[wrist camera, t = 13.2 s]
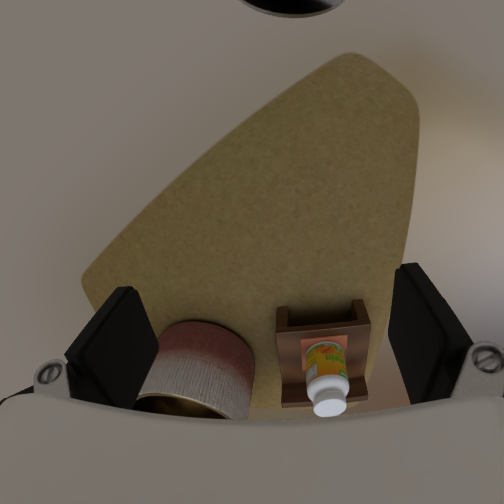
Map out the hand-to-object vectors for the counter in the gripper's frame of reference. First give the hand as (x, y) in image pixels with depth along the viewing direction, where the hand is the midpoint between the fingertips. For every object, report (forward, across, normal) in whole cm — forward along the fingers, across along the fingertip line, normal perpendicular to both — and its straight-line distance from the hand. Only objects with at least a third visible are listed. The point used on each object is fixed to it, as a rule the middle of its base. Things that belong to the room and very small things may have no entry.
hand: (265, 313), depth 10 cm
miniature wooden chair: (+28, -4, +26) cm, 39 cm away
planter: (+28, +16, +30) cm, 44 cm away
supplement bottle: (+22, -4, +24) cm, 33 cm away
